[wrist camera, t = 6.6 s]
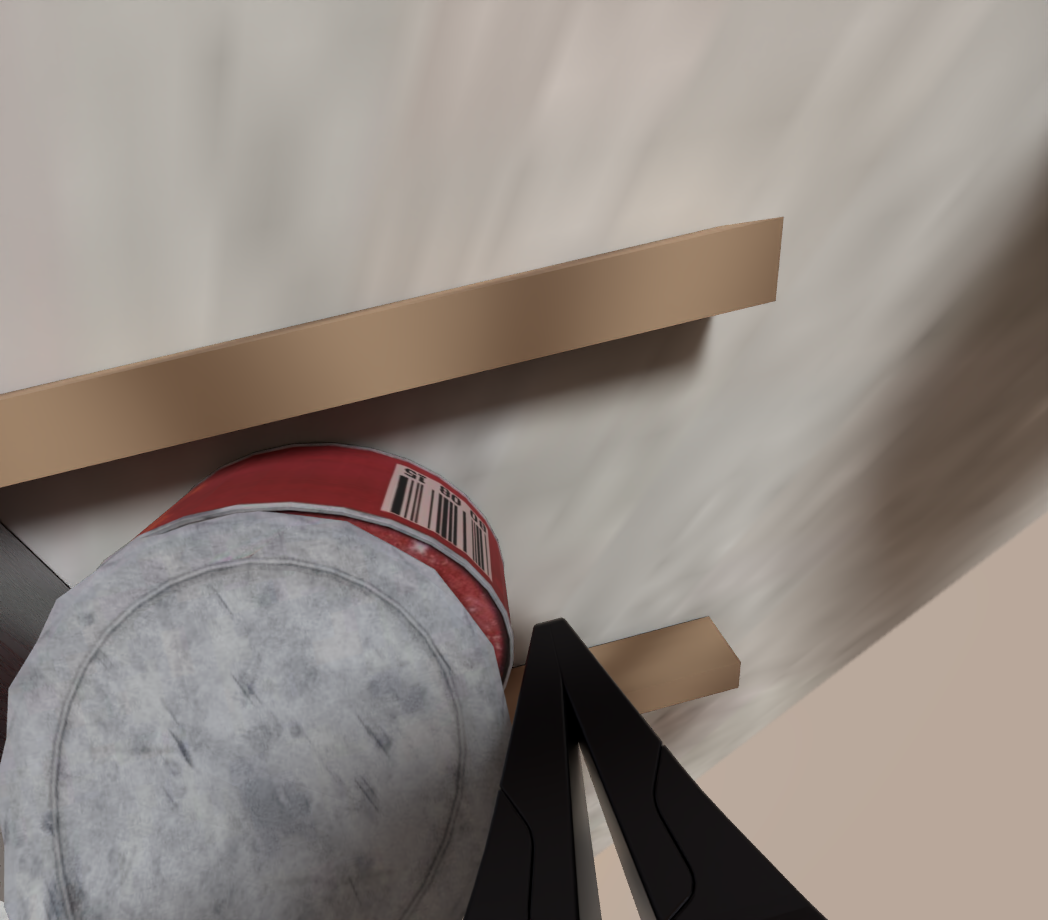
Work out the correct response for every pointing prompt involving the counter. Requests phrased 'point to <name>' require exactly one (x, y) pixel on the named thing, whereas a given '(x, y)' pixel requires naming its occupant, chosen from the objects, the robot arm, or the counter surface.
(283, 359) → the guide channel
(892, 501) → the counter surface
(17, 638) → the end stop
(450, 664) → the canned food
